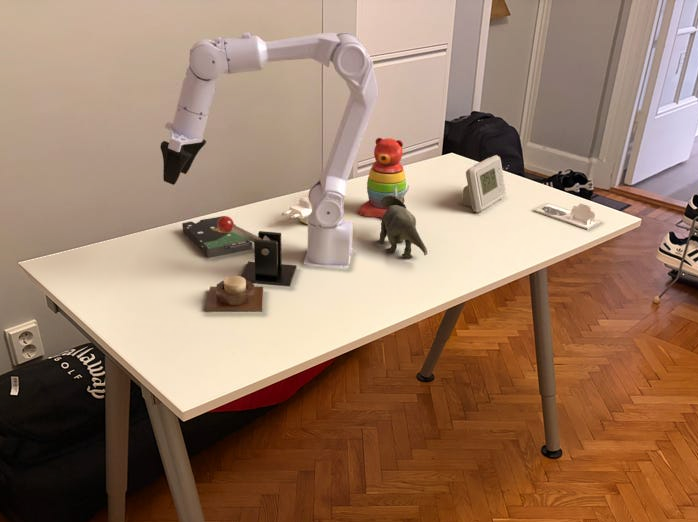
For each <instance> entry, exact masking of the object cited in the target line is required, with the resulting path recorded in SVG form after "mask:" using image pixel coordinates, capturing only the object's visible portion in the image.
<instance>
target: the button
mask: <svg viewBox="0 0 698 522" xmlns="http://www.w3.org/2000/svg"><path fill="white" fill-rule="evenodd" d="M223 281H224V290H225V292H229V293H240V292H244V291H245V290H246V280H245V278H243V277H241V276H239V275H230V276H228V277H225V278H224V279H223Z"/></svg>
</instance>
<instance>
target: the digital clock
mask: <svg viewBox="0 0 698 522" xmlns="http://www.w3.org/2000/svg"><path fill="white" fill-rule="evenodd" d="M501 159H502V158H501V156H498V154H495V155H492V156H490V157H489V156H488V157H487V158H485V159H483V160H481V161H479V162H478V163H476V164H474V165H472V166H471V167H469V168H468V169H467V170H466V171H465V178H466V183H467V185H466V186H464V187H463V190H462V196H461V205H464V206H466V207H469V208H471V209H472V211H473V212H474V213H481V212H482V211H485V210H487V209H488V208H490V207H492V206H493V205H495V204H497V203H498V202H499V200H501V199H502V198H504V197H505V196H506V195H507V189H506V183H505V177H504V171H503V165H502V160H501Z"/></svg>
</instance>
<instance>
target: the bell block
mask: <svg viewBox="0 0 698 522" xmlns="http://www.w3.org/2000/svg"><path fill="white" fill-rule="evenodd" d="M263 306H264V286H255V283H251V282H250V281H248V280H246V290H245V291H244V292H240V293H229V292H225V290H224V280H222V281H220V282H218V283H217V284H216V285H215V286H210V287H209V292H208V297H207V302H206V312H207V313H260V312H261V313H262V312H263V308H264V307H263Z"/></svg>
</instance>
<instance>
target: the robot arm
mask: <svg viewBox="0 0 698 522" xmlns="http://www.w3.org/2000/svg"><path fill="white" fill-rule="evenodd" d="M241 35H242V36H237V37H230V38H222V37H221V36H215V37H214V41H213V40H212V39H208V38H203V39H200V40H199V39H198V40H197V41H196V42H195V43H194V44H193V45H192V47H191V48H190V49H189V57H188V61H189V63H188V67H187V69H186V72H185V77H184V78H183V81H182V84H181V88H180V92H179V93H180V94H179V97H178V100H177V105H176V109H175V113H174V116H173V120H172V122H169V121H168V122H166V123H165V125H164V129H167V130H169V133H170V139H169V142H168V141H166V140H163V141H162V142H160V145H159V146H160V151H161V154H162V161H163V169H162V170H163V174H162V175H163V176H162V177H163V182H166V183H167V184H170V185H172V186H174V185H175V184H177V182H178V180H179V178H180V175H181V173H182V174H184V175H187V174H188V172H189V170H190V168H191V166H192V165H193V163H194V160H195V159H196V157H197V155H198V154H199V152H200V151H201V149H202V148H204V146H205V145H206V144H207V140H206V139H204V138H205V137H204V134H205V131H206V127H207V122H208V119H209V114H210V112H211V107H212V103H213V100H214V96H215V94H216V84H217V80H218V78H219V77H220V76H221V75H222V73H223V74H227V75H231V74H239V73H249V72H256V71H257V72H258V71H262V70H263V69H264V67H265V66H266V65H267V64H268V63H269V62H281V61H282V62H283V61H296V60H309V59H310V60H311V59H312V60H314V61H317V62H318V63H319V64H321V65H323V66H325V67H327V68H330V63H332V65H333V68H334V70H335V72H336V73H337V74H338V75H339V77H340V78H341V79H343V81H345V83H346V85H347V88H348V89H349V92H350V93H349V97H348V99H347V102H346V106H345V108H344V111H343V114H342V117H341V119H340V123H339V126H338V129H337V132H336V135H335V137H334V140H333V143H332V146H331V149H330V152H329V155H328V158H327V160H326V164H325V166H324V169H323V170H322V172H320V174H319V176H318V179H317V181H316V182H315V183H314V184H313V185H312V186H311V187H310V189H309V191H308V195H307V196H308V198H309V202H310V204H311V208H312V212H311V213H310V215H309V216H308V224H307V251H306V255H305V256H304V259H303V265H307V266H319V267H330V268H340V269H341V268H342V269H343V268H344V269H349V267H350V263H351V258H352V257H353V252H354V248H353V237H354V236H353V235H354V234H353V233H354V224H353V223H354V222H353V221H348V220H345V219H344V215H345V209H344V201H345V198H346V193H347V186H348V185H347V184H348V179H349V176H350V174H351V171H352V168H353V166H354V164H355V160H356V158H357V154H358V152H359V150H360V146H361V144H362V142H363V138H364V136H365V133H366V130H367V127H368V124H369V122H370V119H371V117H372V114H373V111H374V108H375V106H376V102H377V100H378V97H379V87H378V82H377V79H376V78H377V77H376V74H375V73H376V72H375V68H374V61H373V59H372V58H371V56H370V54H369V53H368V51H367V49H366V48H365V47H364V45H362V43H361V41H360V40H359V38H358V37H357V36H356V35H354V34H352V33H350V32H348V31H347V32H346V31H343V32H339V33H336V32H321V33H314V34H307V35H301V36H296V37H289V38H282V39H277V40H270V41H265V40H263V39H262V38H260V37H259V36H258V35H255V34H254V35H251V33H250V32H249V31H248V32H247V31H246V32H242V34H241Z"/></svg>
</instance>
